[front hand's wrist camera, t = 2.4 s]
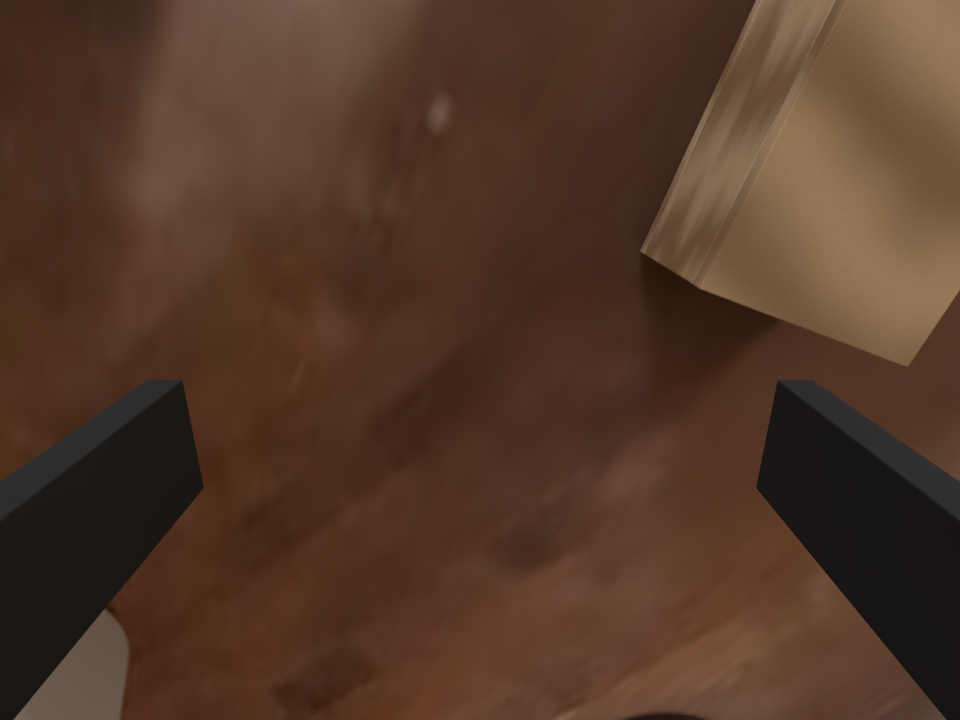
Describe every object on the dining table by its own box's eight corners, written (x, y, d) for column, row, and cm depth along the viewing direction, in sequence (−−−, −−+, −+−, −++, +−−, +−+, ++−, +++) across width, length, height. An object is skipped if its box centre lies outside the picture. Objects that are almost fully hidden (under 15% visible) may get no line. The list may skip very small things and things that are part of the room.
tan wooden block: (792, -80, 26) (945, -194, 17) (971, 6, 27) (1197, -62, 19) (639, 251, 31) (699, 289, 23) (794, 311, 32) (907, 367, 24)
